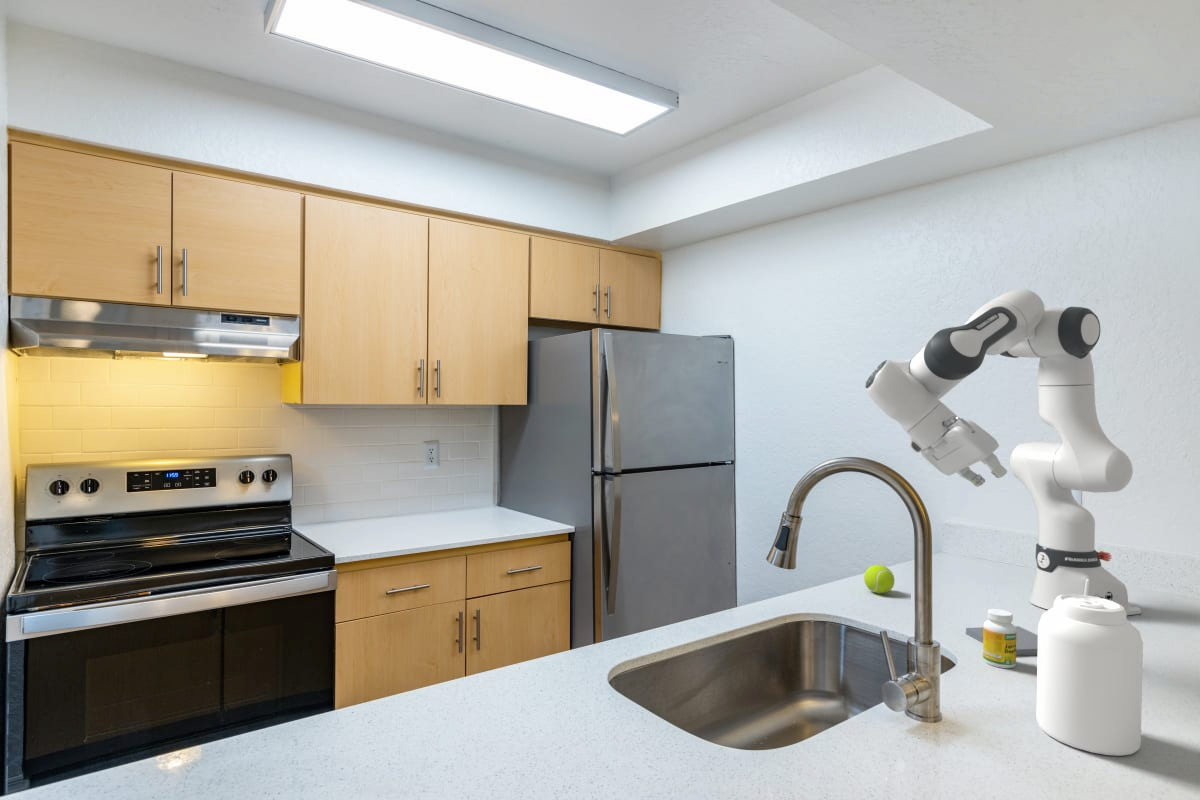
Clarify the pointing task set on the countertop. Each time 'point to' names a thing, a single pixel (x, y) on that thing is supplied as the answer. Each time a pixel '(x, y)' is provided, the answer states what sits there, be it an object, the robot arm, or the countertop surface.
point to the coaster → (1024, 640)
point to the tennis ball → (879, 579)
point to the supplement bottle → (999, 639)
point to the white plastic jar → (1090, 675)
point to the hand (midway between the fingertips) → (992, 480)
